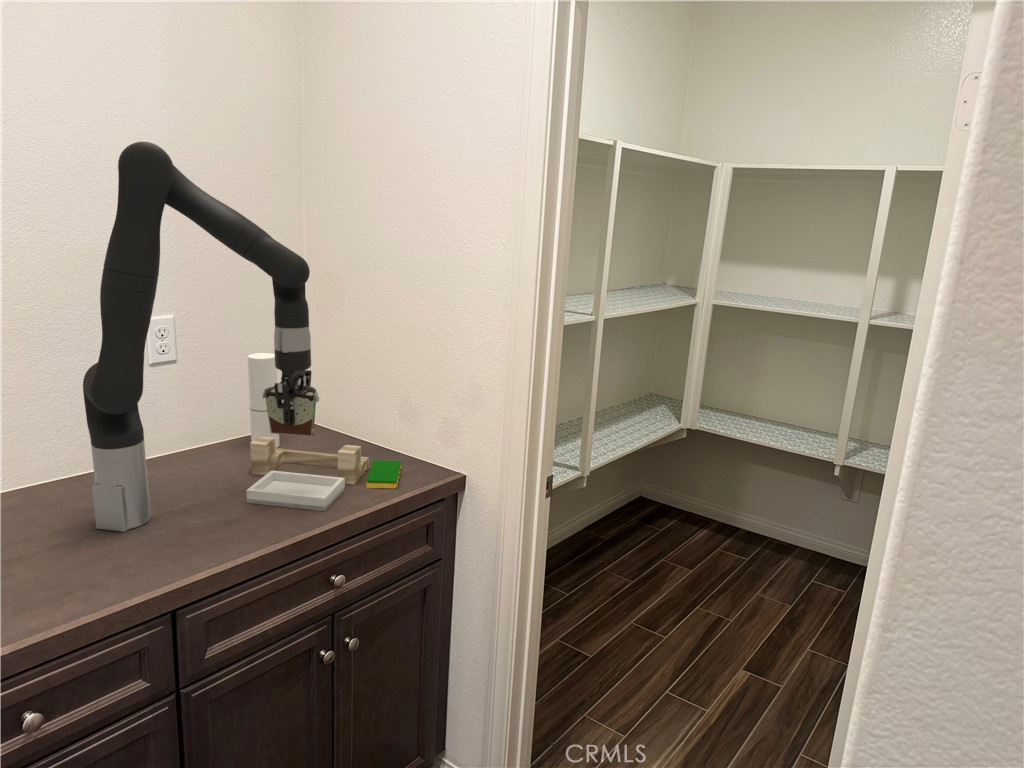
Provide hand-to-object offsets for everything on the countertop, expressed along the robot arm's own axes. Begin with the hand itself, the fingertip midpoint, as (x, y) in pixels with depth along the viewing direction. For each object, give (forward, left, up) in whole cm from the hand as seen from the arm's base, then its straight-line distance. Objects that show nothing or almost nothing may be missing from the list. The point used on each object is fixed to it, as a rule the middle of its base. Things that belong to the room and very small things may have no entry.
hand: (294, 421), depth 154 cm
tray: (0, 0, -18) cm, 18 cm away
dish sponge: (+16, -16, -19) cm, 29 cm away
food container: (+1, 0, -3) cm, 3 cm away
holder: (+15, +3, -18) cm, 23 cm away
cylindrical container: (+29, +22, -18) cm, 41 cm away
